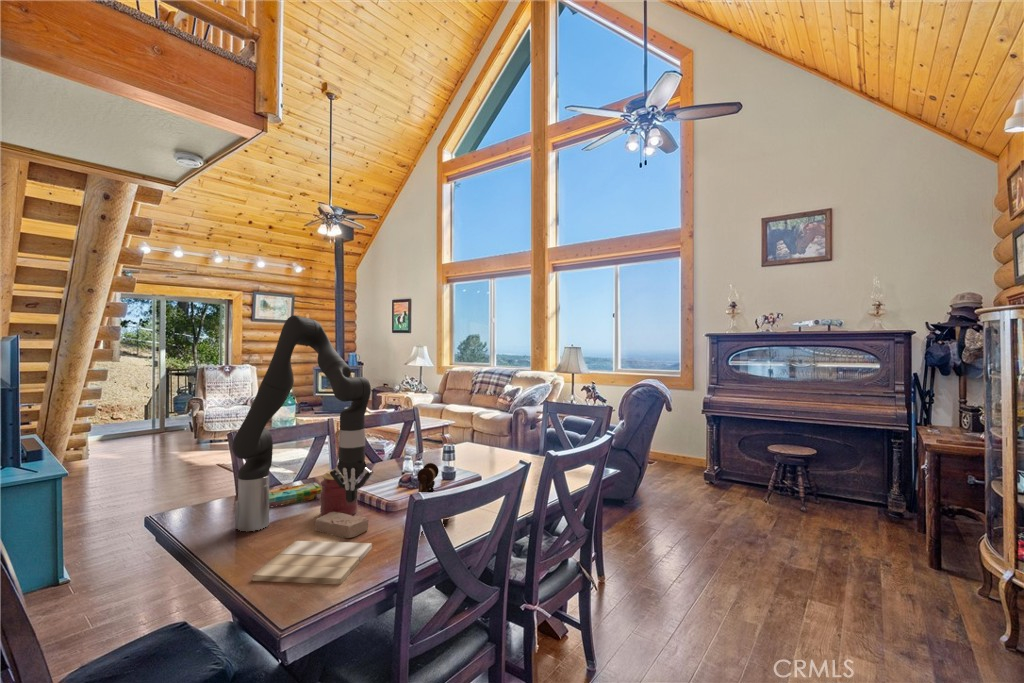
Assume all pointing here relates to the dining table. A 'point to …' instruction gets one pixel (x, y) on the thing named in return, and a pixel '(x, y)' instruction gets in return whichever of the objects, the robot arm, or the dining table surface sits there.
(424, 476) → the dark brown upright piece
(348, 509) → the canister
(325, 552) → the ash plank
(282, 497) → the puzzle game
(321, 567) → the oak floor boards
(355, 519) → the brick
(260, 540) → the dining table surface
